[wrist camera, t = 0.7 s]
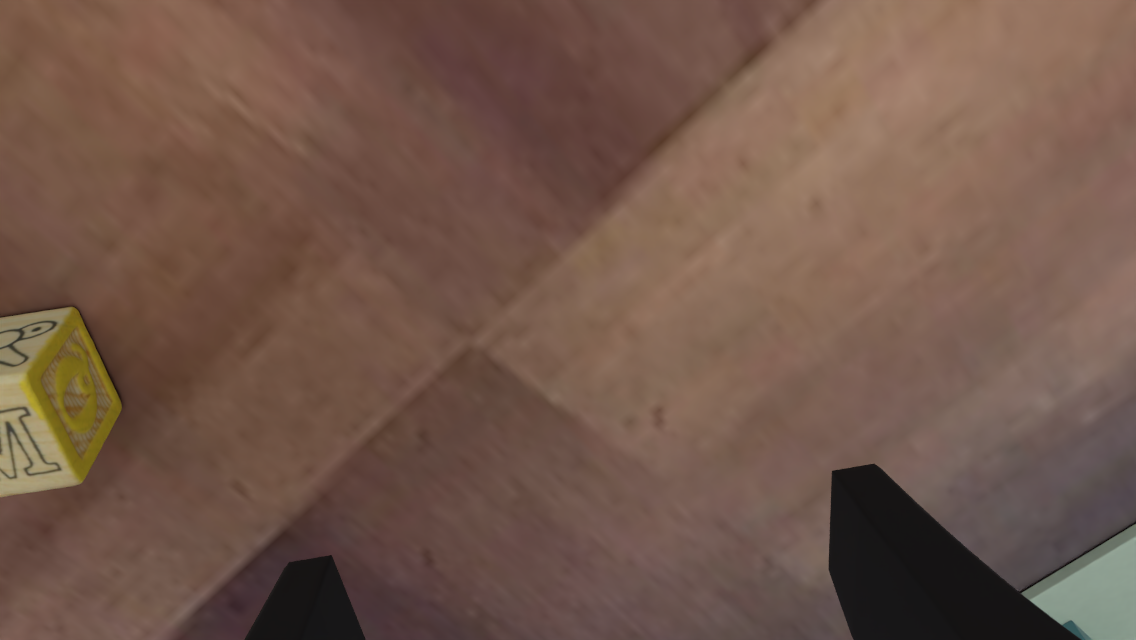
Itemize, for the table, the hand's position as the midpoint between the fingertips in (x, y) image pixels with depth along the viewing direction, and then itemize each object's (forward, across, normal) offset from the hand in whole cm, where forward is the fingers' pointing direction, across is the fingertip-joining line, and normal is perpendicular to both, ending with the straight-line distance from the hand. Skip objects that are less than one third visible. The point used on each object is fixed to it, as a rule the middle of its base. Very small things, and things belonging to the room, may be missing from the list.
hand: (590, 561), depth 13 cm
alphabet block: (+10, +12, +1) cm, 16 cm away
